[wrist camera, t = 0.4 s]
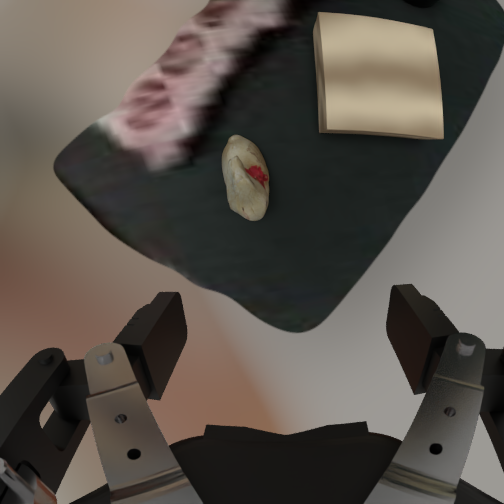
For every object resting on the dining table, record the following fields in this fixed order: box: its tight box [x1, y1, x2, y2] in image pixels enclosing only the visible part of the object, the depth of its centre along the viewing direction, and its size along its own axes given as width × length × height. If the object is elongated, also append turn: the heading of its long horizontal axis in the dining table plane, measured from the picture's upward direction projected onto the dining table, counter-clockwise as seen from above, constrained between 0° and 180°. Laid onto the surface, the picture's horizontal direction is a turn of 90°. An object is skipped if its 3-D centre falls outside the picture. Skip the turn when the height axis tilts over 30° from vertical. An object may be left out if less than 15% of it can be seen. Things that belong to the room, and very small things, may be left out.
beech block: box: [313, 12, 444, 139], centre depth 25 cm, size 12×12×6 cm
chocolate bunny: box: [222, 135, 269, 221], centre depth 28 cm, size 6×8×10 cm
